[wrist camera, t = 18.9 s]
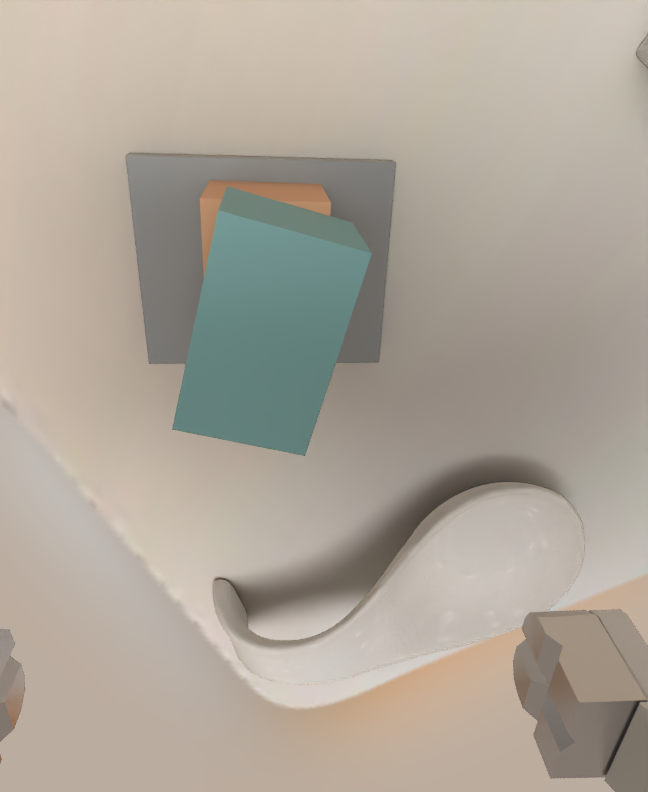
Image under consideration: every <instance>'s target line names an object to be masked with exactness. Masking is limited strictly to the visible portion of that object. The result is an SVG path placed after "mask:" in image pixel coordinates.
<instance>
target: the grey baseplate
mask: <svg viewBox="0 0 648 792" xmlns="http://www.w3.org/2000/svg"><path fill="white" fill-rule="evenodd" d="M126 164H127V173H128V182H129V191H130V200H131V208H132V217H133V226H134V235H135V244H136V253H137V262H138V270H139V279H140V288H141V297H142V306H143V315H144V323H145V332H146V341H147V350H148V359H149V364H178V363H186V362H187V357H188V352H189V347H190V342H191V338H192V333H193V328H194V323H195V319H196V314H197V309H198V304H199V299H200V295H201V290H202V285H203V280H204V273H203V253H202V234H201V214H200V197H201V195H202V193H203V192H204V190H205V188H206V186H207V185H208V183H209V181H210V180H223V181H253V182H282V183H311V184H321V185H322V187H323V189H324V191H325V192H326V194H327V196H328V198H329V200H330V201H331V214H330V216H332V217H335V218H339V219H342V220H346V221H349V222H352V223H353V224H354V226H355V227H356V229H357V230H358V232H359V234H360V235H361V237H362V238H363V240H364V242H365V243H366V245H367V246H368V248H369V250H370V251H371V253H372V255H371V258H370V261H369V264H368V267H367V270H366V273H365V276H364V279H363V282H362V285H361V288H360V291H359V294H358V297H357V300H356V303H355V306H354V309H353V312H352V315H351V318H350V321H349V324H348V327H347V330H346V333H345V336H344V339H343V342H342V345H341V348H340V351H339V354H338V357H337V360H336V363H369V362H379V354H380V343H381V331H382V319H383V307H384V296H385V284H386V272H387V261H388V249H389V237H390V226H391V214H392V202H393V190H394V179H395V167H396V162H394V161H392V160H371V159H335V158H298V157H262V156H226V155H190V154H154V153H129V154H127V155H126Z"/></svg>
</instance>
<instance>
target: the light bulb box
mask: <svg viewBox="0 0 648 792" xmlns="http://www.w3.org/2000/svg"><path fill="white" fill-rule="evenodd" d="M637 56H638V58H639V59H640V60H641V61H642V62H643V63H644V64H645V65H646V66H647V67H648V35H647V37H646V38H645V39H644V41H643V42H642V44H641V45H640V47H639V48H638V50H637Z"/></svg>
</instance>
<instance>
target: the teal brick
mask: <svg viewBox="0 0 648 792" xmlns="http://www.w3.org/2000/svg"><path fill="white" fill-rule="evenodd" d="M371 255H372V253H371V251H370V250H369V248H368V246H367V245H366V243H365V242H364V240H363V238H362V237H361V235H360V234H359V232H358V230H357V229H356V227H355V226H354V224H353V223H352V222H349V221H346V220H342V219H339V218H335V217H332V216H328V215H325V214H321V213H318V212H314V211H311V210H308V209H304V208H301V207H297V206H294V205H290V204H287V203H283V202H280V201H276V200H273V199H270V198H266V197H263V196H259V195H256V194H252V193H249V192H245V191H242V190H239V189H235V188H232V187H228V186H227V187H226V190H225V193H224V196H223V198H222V201H221V204H220V207H219V209H218V213H217V218H216V223H215V228H214V233H213V237H212V242H211V247H210V252H209V256H208V261H207V266H206V271H205V276H204V280H203V285H202V290H201V295H200V299H199V304H198V309H197V314H196V319H195V323H194V328H193V333H192V338H191V342H190V347H189V352H188V357H187V362H186V366H185V371H184V376H183V381H182V385H181V390H180V395H179V400H178V405H177V409H176V414H175V419H174V424H173V428H172V429H173V430H178V431H183V432H188V433H193V434H198V435H203V436H208V437H213V438H218V439H223V440H228V441H233V442H238V443H243V444H248V445H253V446H258V447H263V448H268V449H273V450H278V451H283V452H288V453H293V454H299V455H304V456H305V454H306V451H307V448H308V445H309V442H310V439H311V436H312V433H313V430H314V427H315V424H316V421H317V418H318V415H319V412H320V409H321V406H322V403H323V400H324V397H325V394H326V391H327V388H328V385H329V382H330V379H331V376H332V372H333V369H334V366H335V363H336V360H337V357H338V354H339V351H340V348H341V345H342V342H343V339H344V336H345V333H346V330H347V327H348V324H349V321H350V318H351V315H352V312H353V309H354V306H355V303H356V300H357V297H358V294H359V291H360V288H361V285H362V282H363V279H364V276H365V273H366V270H367V267H368V264H369V261H370V258H371Z"/></svg>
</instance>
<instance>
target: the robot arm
mask: <svg viewBox="0 0 648 792" xmlns="http://www.w3.org/2000/svg"><path fill="white" fill-rule="evenodd" d="M522 630H523V633H524V635H525V637H526V640H524V641H523V642H522V643H521V644H519V645H518V646H517V647H516V651H515V656H514V660H513V668H514V681H515V685H516V689H517V693H518V696H519V699H520V701H521V704H522V706H523V708H524V709H525V710H526V711H527V712H528V713H529V714H530V715H532V716H533V717H534V718H535V719H536V720H537V721H538V722H537V725H536V728H535V732H534V738H535V740H536V743H537V745H538V748H539V751H540V753H541V755H542V758H543V760H544V763H545V766H546V768H547V771H548V773H549V776H550V778H588V777H606V778H605V781H606V782H607V784H609V786H610V787H611V788H612V789H613V790H614V791H615V792H648V645H647V644H646V642H645V641H644V639H643V638H642V636H641V635H640V633H639V632H638V630H637V629H636V627H635V626H634V624H633V623H632V621H631V620H630V618H629V616H628V615H627V614H626V613H624V612H623V611H622V610H620V609H617V610H590V611H587V610H573V611H549V612H530V613H529V614H528V615H527V616H526V617H525V619H524V622H523V626H522ZM14 646H15V642H14V640H13V637H12V635H11V632H10V630H9V629H0V741H1V740H2V739H3V738H5V737H6V736H7V735H8V734H9V733H10V732H11V731H12V730H13V729H14V728H15V725H16V722H17V720H18V717H19V715H20V712H21V708H22V703H23V697H24V692H25V678H24V677H25V676H24V671H23V668H22V665H21V663H19V662H18V661H16V660H15V659H14V658H13V657H11V656H10V654H11V652H12V650H13V648H14ZM0 762H1V756H0Z"/></svg>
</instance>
